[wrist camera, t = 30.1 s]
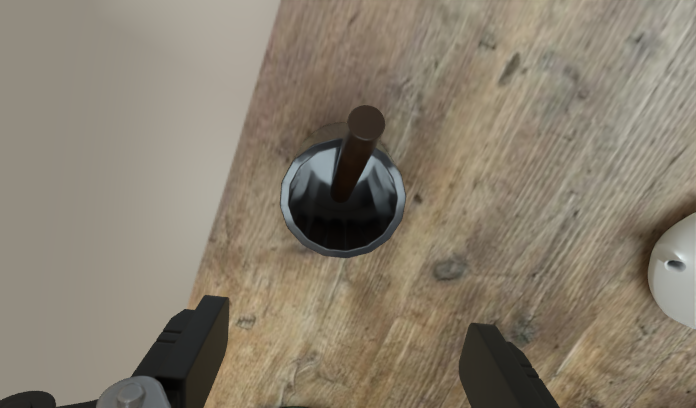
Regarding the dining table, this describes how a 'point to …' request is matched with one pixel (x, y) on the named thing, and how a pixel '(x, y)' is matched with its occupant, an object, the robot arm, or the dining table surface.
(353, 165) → the stick
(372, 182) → the crock
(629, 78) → the dining table surface
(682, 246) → the teapot
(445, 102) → the dining table surface
